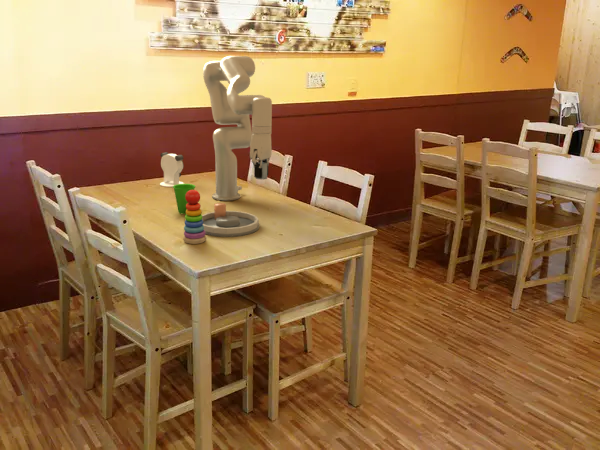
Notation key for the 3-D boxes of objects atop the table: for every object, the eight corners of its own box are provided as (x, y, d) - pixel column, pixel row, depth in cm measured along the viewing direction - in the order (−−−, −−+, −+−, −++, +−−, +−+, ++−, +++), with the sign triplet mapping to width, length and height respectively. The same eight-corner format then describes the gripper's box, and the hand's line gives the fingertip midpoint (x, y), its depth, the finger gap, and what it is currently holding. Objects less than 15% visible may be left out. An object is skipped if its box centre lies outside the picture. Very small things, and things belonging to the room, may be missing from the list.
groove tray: (221, 214, 239) (221, 207, 238) (271, 224, 228) (271, 217, 227) (183, 229, 219) (182, 221, 218) (235, 241, 208) (235, 233, 207)
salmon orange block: (219, 216, 232) (218, 202, 230) (228, 218, 230) (228, 203, 228) (212, 219, 228) (211, 204, 227) (221, 221, 226) (221, 206, 225)
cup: (191, 216, 235) (190, 189, 232) (170, 214, 237) (169, 187, 234) (199, 210, 244) (198, 184, 240) (178, 208, 245) (178, 182, 242)
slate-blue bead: (259, 176, 233) (259, 161, 231) (269, 177, 231) (269, 162, 230) (253, 178, 229) (253, 163, 227) (263, 179, 228) (264, 164, 226)
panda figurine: (189, 183, 287) (188, 153, 282) (173, 188, 278) (172, 157, 273) (171, 180, 293) (170, 150, 288) (155, 184, 283) (153, 154, 279)
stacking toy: (184, 237, 210) (182, 186, 204) (206, 237, 211) (205, 187, 205) (182, 244, 203) (180, 192, 197) (205, 244, 203) (204, 192, 198)
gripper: (263, 126, 234) (262, 171, 239) (242, 131, 219) (242, 179, 224) (280, 128, 231) (279, 173, 236) (260, 133, 216) (259, 181, 221)
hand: (261, 175), depth 230 cm, fingers closed on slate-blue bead, 4 cm apart
